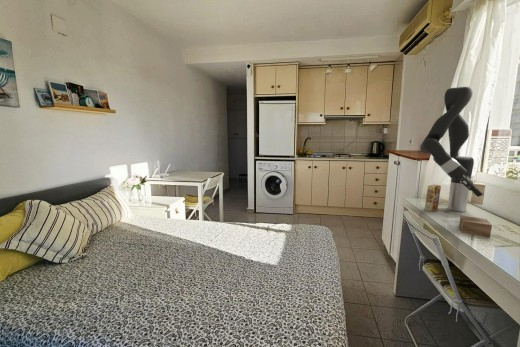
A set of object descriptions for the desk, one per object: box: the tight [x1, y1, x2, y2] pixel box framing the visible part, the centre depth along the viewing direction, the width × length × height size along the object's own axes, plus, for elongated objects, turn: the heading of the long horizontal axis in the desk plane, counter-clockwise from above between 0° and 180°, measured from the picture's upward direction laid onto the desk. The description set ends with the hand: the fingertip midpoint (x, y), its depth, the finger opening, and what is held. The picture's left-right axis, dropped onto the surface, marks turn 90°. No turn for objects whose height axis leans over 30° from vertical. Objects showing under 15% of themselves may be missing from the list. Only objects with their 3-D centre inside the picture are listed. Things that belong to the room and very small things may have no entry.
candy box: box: [424, 184, 442, 212], centre depth 154 cm, size 9×4×15 cm, turn 123°
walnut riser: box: [458, 215, 493, 238], centre depth 119 cm, size 10×10×6 cm
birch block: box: [470, 182, 486, 206], centre depth 126 cm, size 4×4×10 cm
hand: (480, 194), depth 125 cm, fingers closed on birch block, 4 cm apart
